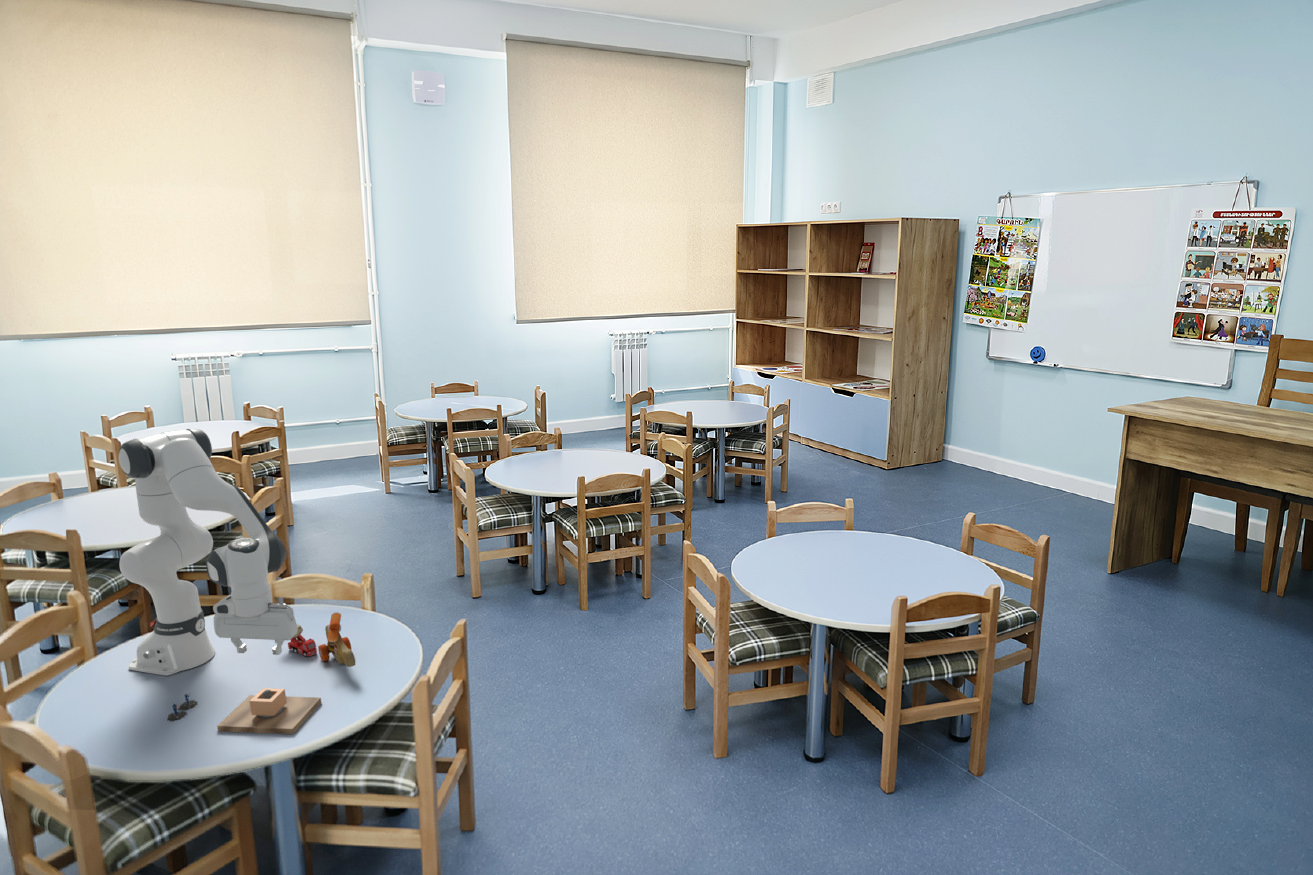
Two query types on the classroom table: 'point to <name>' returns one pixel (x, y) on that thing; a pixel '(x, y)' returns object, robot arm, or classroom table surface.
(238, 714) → the stand
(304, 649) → the toy fire truck
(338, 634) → the toy helicopter
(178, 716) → the figurines
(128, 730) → the classroom table surface
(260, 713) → the square frame block
